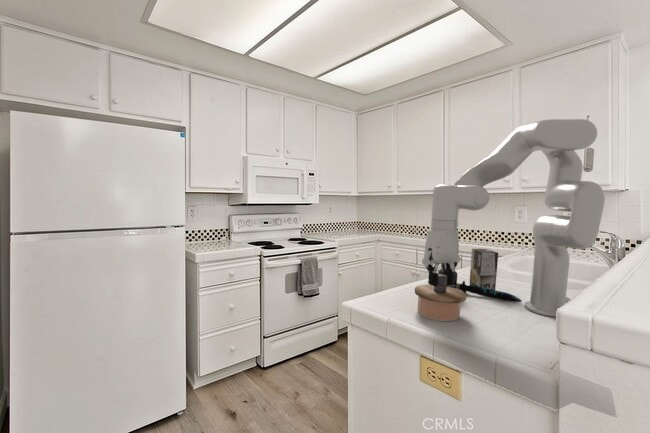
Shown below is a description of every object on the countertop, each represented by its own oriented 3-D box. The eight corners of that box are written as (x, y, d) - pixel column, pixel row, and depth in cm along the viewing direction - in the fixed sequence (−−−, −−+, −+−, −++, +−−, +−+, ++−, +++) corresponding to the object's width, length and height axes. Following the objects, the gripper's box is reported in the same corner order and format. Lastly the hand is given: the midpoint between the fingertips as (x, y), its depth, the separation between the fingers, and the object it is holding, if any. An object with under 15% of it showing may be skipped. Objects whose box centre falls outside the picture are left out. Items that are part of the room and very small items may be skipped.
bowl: (438, 304, 109) (439, 287, 109) (467, 318, 98) (469, 298, 98) (410, 309, 104) (411, 291, 103) (438, 323, 93) (439, 303, 92)
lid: (439, 285, 111) (440, 268, 110) (477, 299, 97) (478, 279, 97) (404, 290, 104) (405, 271, 103) (440, 305, 90) (441, 284, 90)
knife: (430, 285, 127) (432, 274, 127) (432, 283, 130) (434, 272, 129) (520, 310, 112) (523, 298, 112) (520, 308, 115) (522, 296, 114)
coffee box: (495, 295, 123) (499, 252, 121) (478, 294, 123) (481, 252, 121) (484, 287, 132) (487, 248, 130) (468, 287, 132) (471, 247, 131)
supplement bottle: (452, 299, 115) (455, 266, 114) (433, 295, 119) (435, 263, 119) (458, 295, 121) (460, 263, 120) (439, 291, 125) (441, 260, 124)
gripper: (454, 224, 106) (450, 278, 107) (413, 224, 98) (410, 283, 100) (474, 226, 99) (469, 285, 101) (431, 227, 92) (427, 290, 93)
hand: (440, 283), depth 100 cm, fingers open, 5 cm apart
